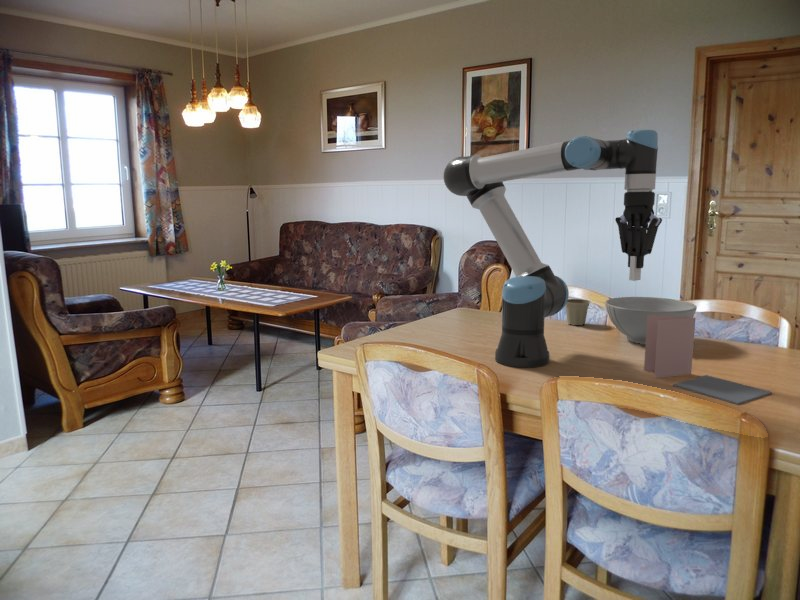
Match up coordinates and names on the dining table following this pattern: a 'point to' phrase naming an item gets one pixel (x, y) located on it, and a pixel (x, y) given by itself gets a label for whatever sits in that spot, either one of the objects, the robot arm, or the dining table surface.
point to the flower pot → (576, 311)
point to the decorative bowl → (643, 313)
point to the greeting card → (669, 345)
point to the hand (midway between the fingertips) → (634, 280)
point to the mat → (722, 389)
